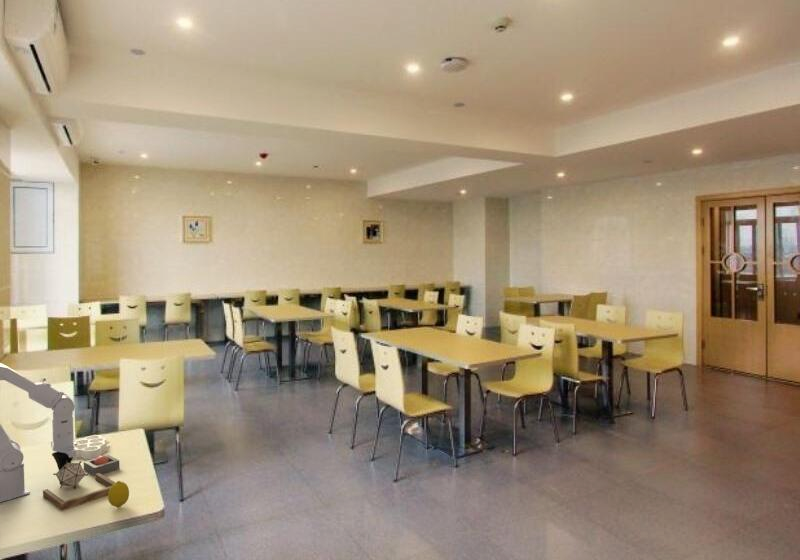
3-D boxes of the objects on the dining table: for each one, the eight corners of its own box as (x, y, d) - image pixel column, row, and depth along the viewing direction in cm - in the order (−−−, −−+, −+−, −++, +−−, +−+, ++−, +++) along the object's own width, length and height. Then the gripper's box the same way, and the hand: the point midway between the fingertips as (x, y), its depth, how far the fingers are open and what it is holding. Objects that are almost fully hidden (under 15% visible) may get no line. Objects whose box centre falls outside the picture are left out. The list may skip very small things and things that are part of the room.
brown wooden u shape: (61, 510, 155) (61, 504, 155) (43, 496, 164) (42, 490, 164) (119, 490, 168) (119, 484, 168) (99, 478, 177) (99, 472, 177)
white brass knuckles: (67, 447, 205) (110, 441, 212) (62, 464, 190) (109, 457, 196) (67, 438, 205) (110, 432, 212) (62, 454, 189) (109, 448, 196)
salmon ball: (97, 472, 181) (97, 459, 181) (92, 468, 184) (91, 456, 184) (111, 468, 185) (111, 455, 184) (105, 464, 187) (105, 452, 187)
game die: (78, 495, 173) (99, 468, 175) (60, 498, 165) (82, 469, 167) (59, 479, 175) (80, 452, 177) (41, 480, 167) (63, 452, 169)
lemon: (124, 501, 162) (123, 475, 161) (132, 507, 158) (132, 480, 158) (104, 508, 157) (104, 481, 157) (113, 514, 154) (112, 487, 153)
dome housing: (94, 476, 179) (94, 467, 178) (83, 470, 184) (83, 461, 183) (119, 468, 185) (119, 460, 185) (108, 462, 190) (108, 454, 190)
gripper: (86, 434, 172) (87, 475, 173) (67, 424, 181) (68, 463, 182) (61, 440, 166) (63, 482, 167) (43, 430, 175) (44, 470, 176)
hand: (64, 473), depth 174 cm, fingers closed
